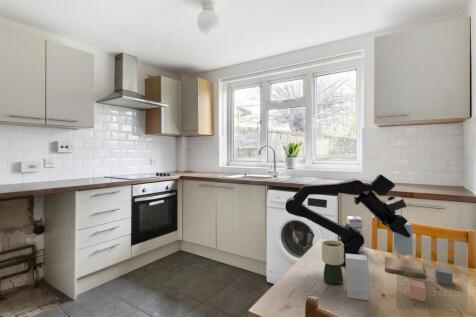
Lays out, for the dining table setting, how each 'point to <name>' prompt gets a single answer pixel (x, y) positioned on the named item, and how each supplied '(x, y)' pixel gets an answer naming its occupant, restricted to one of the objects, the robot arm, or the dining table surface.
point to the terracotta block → (416, 290)
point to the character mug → (333, 260)
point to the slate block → (403, 241)
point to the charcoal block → (443, 276)
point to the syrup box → (356, 225)
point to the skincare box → (357, 276)
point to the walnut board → (404, 267)
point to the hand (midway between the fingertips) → (406, 235)
